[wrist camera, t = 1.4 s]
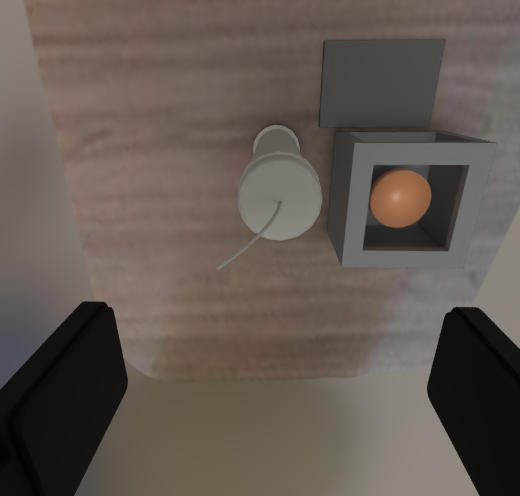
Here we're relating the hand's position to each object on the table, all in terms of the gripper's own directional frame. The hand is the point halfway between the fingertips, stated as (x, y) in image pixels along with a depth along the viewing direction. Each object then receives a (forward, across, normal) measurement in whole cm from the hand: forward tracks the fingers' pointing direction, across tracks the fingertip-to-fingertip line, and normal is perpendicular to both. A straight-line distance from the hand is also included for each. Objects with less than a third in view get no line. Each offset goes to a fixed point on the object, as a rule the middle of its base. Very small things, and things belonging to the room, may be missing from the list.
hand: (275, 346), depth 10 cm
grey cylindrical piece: (+37, 0, -1) cm, 37 cm away
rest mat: (+36, -12, -8) cm, 39 cm away
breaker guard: (+37, -14, +4) cm, 39 cm away
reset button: (+32, -14, +4) cm, 35 cm away
